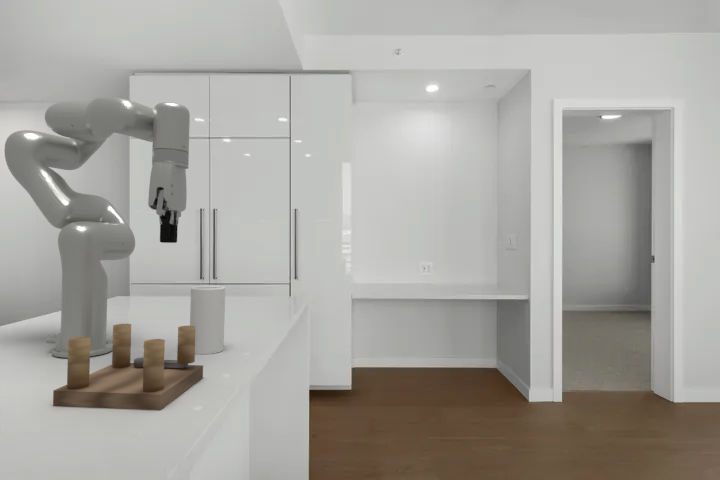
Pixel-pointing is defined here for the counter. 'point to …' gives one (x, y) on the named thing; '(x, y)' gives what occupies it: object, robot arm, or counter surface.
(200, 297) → the cup
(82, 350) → the stool seat
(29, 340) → the counter surface
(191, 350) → the hinged leg
